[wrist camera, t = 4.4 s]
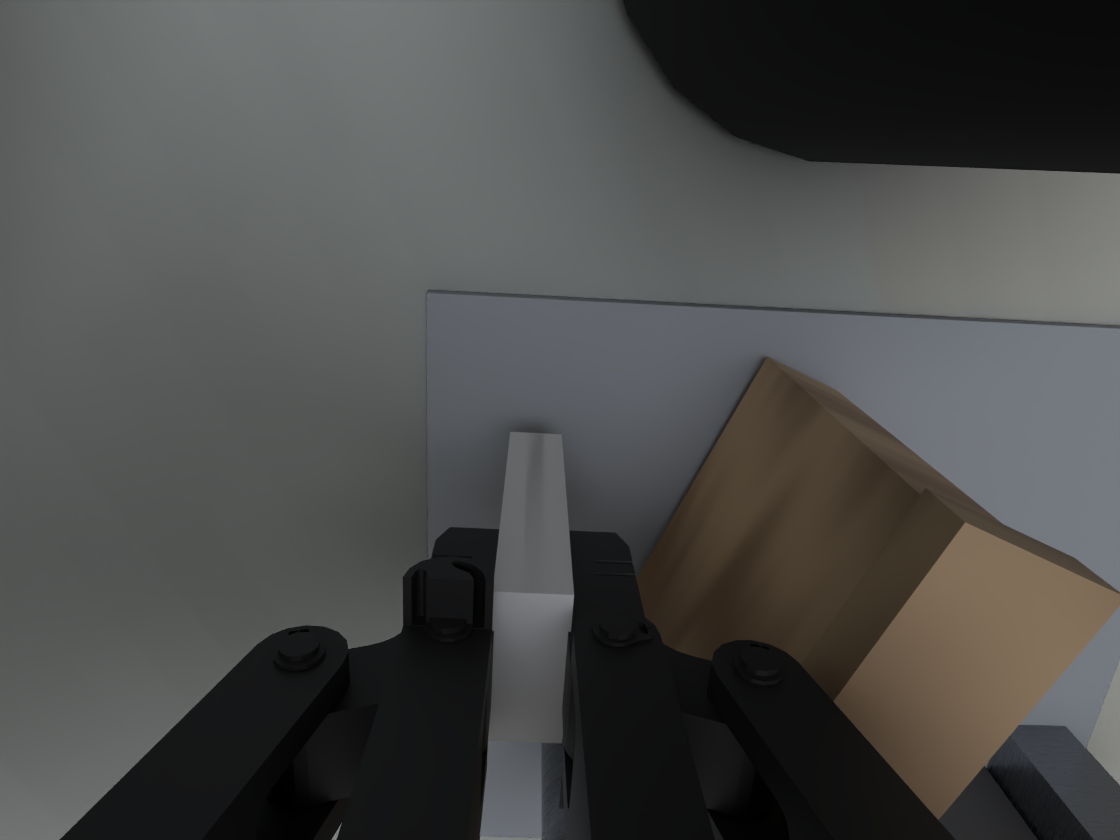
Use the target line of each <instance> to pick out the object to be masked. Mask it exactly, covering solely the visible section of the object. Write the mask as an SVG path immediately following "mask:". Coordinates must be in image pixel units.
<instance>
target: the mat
mask: <svg viewBox="0 0 1120 840" xmlns="http://www.w3.org/2000/svg"><path fill="white" fill-rule="evenodd" d="M426 304H427V548H428V559H431V557H432V552H433V548H434V544H435V540H436V539H437V538H438V537H439V536H440V535H442V534H443V533H444V532H445V531H446V530H447V529H448V528H450V527H462V528H484V529H500V520H501V511H502V502H503V493H504V484H505V475H506V466H507V456H508V447H509V438H510V432H527V433H545V434H562V444H563V457H564V470H565V483H566V496H567V509H568V522H569V530H570V531H593V532H615V533H616V534H617V535H618V536H619V537H620V538H621V539H622V540H623V541H624V542H625V543H626V544H627V545H628V546H629V548H630V552H631V557H632V561H633V562H632V564H633V566H634V570H635V577H636V578H637V577H638V575H639V573H640V572H641V570H642V568H643V567H644V565H645V563H646V561H647V560H648V558H649V556H650V555H651V553H652V551H653V550H654V548H655V546H656V544H657V543H658V541H659V539H660V538H661V536H662V534H663V533H664V531H665V529H666V528H667V526H668V524H669V522H670V521H671V519H672V517H673V516H674V514H675V512H676V511H677V509H678V507H679V505H680V504H681V502H682V500H683V499H684V497H685V495H686V494H687V492H688V490H689V489H690V487H691V485H692V483H693V482H694V480H695V478H696V477H697V475H698V473H699V472H700V470H701V468H702V466H703V465H704V463H705V461H706V460H707V458H708V456H709V455H710V453H711V451H712V450H713V448H714V446H715V444H716V443H717V441H718V439H719V438H720V436H721V434H722V433H723V431H724V429H725V428H726V426H727V424H728V422H729V421H730V419H731V417H732V416H733V414H734V412H735V411H736V409H737V407H738V405H739V404H740V402H741V400H742V399H743V397H744V395H745V394H746V392H747V390H748V389H749V387H750V385H751V383H752V382H753V380H754V378H755V377H756V375H757V373H758V372H759V370H760V368H761V366H762V365H763V363H764V361H765V360H766V358H767V357H769V358H772V359H774V360H776V361H778V362H780V363H782V364H784V365H786V366H788V367H790V368H792V369H794V370H796V371H798V372H800V373H802V374H804V375H807V376H809V377H811V378H813V379H815V380H817V381H819V382H821V383H823V384H825V385H827V386H829V387H831V388H833V389H835V390H837V391H839V392H840V393H841V394H842V395H844V396H845V397H846V398H847V399H849V400H850V401H851V402H852V403H854V404H855V405H856V406H857V407H858V408H860V409H861V410H862V411H863V412H865V413H866V414H867V415H868V416H870V417H871V418H872V419H873V420H875V421H876V422H877V423H878V424H880V425H881V426H882V427H883V428H885V429H886V430H887V431H888V432H889V433H891V434H892V435H893V436H894V437H896V438H897V439H898V440H899V441H901V442H902V443H903V444H904V445H906V446H907V447H908V448H909V449H911V450H912V451H913V452H914V453H916V454H917V455H918V456H919V457H920V458H922V459H923V460H924V461H925V462H927V463H928V464H929V465H930V466H932V467H933V468H934V469H935V470H937V471H938V472H939V473H940V474H942V475H943V476H944V477H945V478H947V479H948V480H949V481H950V482H952V483H953V484H954V485H955V486H956V487H958V488H959V489H960V490H961V491H963V492H964V493H965V494H966V495H968V496H969V497H970V498H971V499H973V500H974V501H975V502H976V503H978V504H979V505H980V506H981V507H983V508H984V509H985V510H986V511H987V512H989V513H990V514H991V515H992V516H994V517H995V518H996V519H997V520H999V521H1000V522H1001V523H1002V524H1004V525H1006V526H1008V527H1010V528H1012V529H1014V530H1017V531H1019V532H1021V533H1023V534H1025V535H1027V536H1029V537H1031V538H1034V539H1036V540H1038V541H1040V542H1042V543H1044V544H1046V545H1048V546H1051V547H1053V548H1055V549H1057V550H1059V551H1061V552H1063V553H1065V554H1068V555H1070V556H1072V557H1074V558H1076V559H1077V560H1078V561H1079V562H1081V563H1082V564H1083V565H1085V566H1086V567H1087V568H1089V569H1090V570H1091V571H1093V572H1094V573H1095V574H1097V575H1098V576H1099V577H1100V578H1102V579H1103V580H1104V581H1106V582H1107V583H1108V584H1110V585H1111V586H1112V587H1114V588H1115V589H1116V590H1118V591H1119V592H1120V326H1115V325H1095V324H1076V323H1057V322H1038V321H1018V320H999V319H980V318H961V317H941V316H922V315H903V314H884V313H864V312H845V311H826V310H807V309H787V308H768V307H749V306H730V305H711V304H691V303H672V302H653V301H634V300H614V299H595V298H576V297H557V296H537V295H518V294H499V293H480V292H460V291H441V290H428V292H427V293H426ZM1119 660H1120V606H1119V607H1118V609H1117V610H1116V611H1115V612H1114V613H1113V615H1112V616H1111V617H1110V618H1109V619H1108V620H1107V622H1106V623H1105V624H1104V625H1103V626H1102V628H1101V629H1100V630H1099V631H1098V632H1097V633H1096V635H1095V636H1094V637H1093V638H1092V639H1091V641H1090V642H1089V643H1088V644H1087V645H1086V646H1085V648H1084V649H1083V650H1082V651H1081V652H1080V653H1079V655H1078V656H1077V657H1076V658H1075V659H1074V661H1073V662H1072V663H1071V664H1070V665H1069V666H1068V668H1067V669H1066V670H1065V671H1064V672H1063V674H1062V675H1061V676H1060V677H1059V678H1058V679H1057V681H1056V682H1055V683H1054V684H1053V685H1052V687H1051V688H1050V689H1049V690H1048V691H1047V692H1046V694H1045V695H1044V696H1043V697H1042V698H1041V700H1040V701H1039V702H1038V703H1037V704H1036V705H1035V707H1034V708H1033V709H1032V710H1031V711H1030V712H1029V714H1028V715H1027V716H1026V717H1025V718H1024V720H1023V721H1022V722H1021V723H1020V724H1019V725H1050V726H1066V727H1067V728H1068V729H1069V730H1070V732H1071V733H1072V734H1073V735H1074V736H1075V737H1076V738H1077V739H1078V740H1079V741H1080V742H1081V744H1082V745H1083V746H1084V747H1085V748H1086V747H1087V744H1088V742H1089V739H1090V736H1091V734H1092V731H1093V728H1094V726H1095V723H1096V721H1097V718H1098V715H1099V713H1100V710H1101V707H1102V705H1103V702H1104V699H1105V697H1106V694H1107V691H1108V689H1109V686H1110V683H1111V681H1112V678H1113V676H1114V673H1115V670H1116V668H1117V665H1118V662H1119ZM988 763H989V761H988V762H987V763H986V764H985V767H986V769H987V766H988ZM480 836H493V837H542V798H541V743H535V742H510V741H488V754H487V772H486V782H485V792H484V801H483V811H482V821H481V830H480Z"/></svg>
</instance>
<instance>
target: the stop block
mask: <svg viewBox="0 0 1120 840" xmlns="http://www.w3.org/2000/svg"><path fill="white" fill-rule="evenodd" d="M939 821H940V823H941V824H942V825H943V826H944V827H945V828H946V829H947V830H948V832H949V833H950V834H951V835H952V836H953V837H954V838H955V839H956V840H1038V839H1037V838H1036V836H1035V835H1034V834H1033V832H1032V831H1031V830H1030V828H1029V827H1028V825H1027V824H1026V823H1025V821H1024V820H1023V818H1022V817H1021V816H1020V814H1019V813H1018V812H1017V810H1016V809H1015V807H1014V806H1013V805H1012V803H1011V802H1010V801H1009V799H1008V798H1007V796H1006V795H1005V794H1004V792H1003V791H1002V789H1001V788H1000V787H999V785H998V784H997V783H996V781H995V780H994V778H993V777H992V776H991V774H990V773H989V771H988V770H987V769H986V767H985V766H984V767H983V768H982V769H981V770H980V771H979V773H978V774H977V775H976V776H975V777H974V779H973V780H972V781H971V782H970V783H969V784H968V786H967V787H966V788H965V789H964V790H963V792H962V793H961V794H960V795H959V796H958V797H957V799H956V800H955V801H954V802H953V803H952V805H951V806H950V807H949V808H948V809H947V810H946V812H945V813H944V814H943V815H942V816H941V818H940V819H939Z"/></svg>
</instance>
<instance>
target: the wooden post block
mask: <svg viewBox="0 0 1120 840" xmlns="http://www.w3.org/2000/svg"><path fill="white" fill-rule="evenodd" d="M636 579H637V583H638V588H639V592H640V597H641V601H642V606H643V610H644V614H645V618H647V619H648V620H649V621H650V622H652V623H653V624H654V625H655V626H656V628H657V630H658V631H659V633H660V635H661V639H662V642H663V644H665V645H666V646H668V647H670V648H672V649H674V650H676V651H679V652H682V653H685V654H688V655H691V656H695V657H699V658H703V659H707V660H711V661H712V658H713V653H714V651H715V650H716V649H718V648H719V647H720V646H721V645H722V644H725V643H728V642H731V641H735V640H754V641H759V642H763V643H767V644H770V645H772V646H775V647H777V648H779V649H781V650H783V651H785V652H787V653H788V654H789V655H790V656H792V657H793V658H794V659H795V660H796V661H798V662H799V663H800V664H801V666H802V667H803V668H804V669H805V670H806V671H807V672H808V674H809V675H810V676H811V677H812V678H813V679H814V680H815V681H816V683H817V684H818V685H819V686H820V687H821V688H822V689H823V690H824V692H825V693H826V694H827V695H828V696H829V697H830V698H831V699H832V701H833V702H834V703H835V704H836V705H837V706H838V707H839V709H840V710H841V711H842V712H843V713H844V714H845V715H846V716H847V718H848V719H849V720H850V721H851V722H852V723H853V724H854V725H855V727H856V728H857V729H858V730H859V731H860V732H861V733H862V734H863V736H864V737H865V738H866V739H867V740H868V741H869V742H870V744H871V745H872V746H873V747H874V748H875V749H876V750H877V751H878V753H879V754H880V755H881V756H882V757H883V758H884V759H885V760H886V762H887V763H888V764H889V765H890V766H891V767H892V768H893V769H894V771H895V772H896V773H897V774H898V775H899V776H900V777H901V778H902V780H903V781H904V782H905V783H906V784H907V785H908V786H909V788H910V789H911V790H912V791H913V792H914V793H915V794H916V795H917V797H918V798H919V799H920V800H921V801H922V802H923V803H924V804H925V806H926V807H927V808H928V809H929V810H930V811H931V812H932V813H933V815H934V816H935V817H936V818H937V819H938V820H939V819H940V818H941V816H942V815H943V814H944V813H945V812H946V810H947V809H948V808H949V807H950V806H951V805H952V803H953V802H954V801H955V800H956V799H957V797H958V796H959V795H960V794H961V793H962V792H963V790H964V789H965V788H966V787H967V786H968V784H969V783H970V782H971V781H972V780H973V779H974V777H975V776H976V775H977V774H978V773H979V771H980V770H981V769H982V768H983V767H984V766H985V764H986V763H987V762H988V761H989V760H990V759H991V757H992V756H993V755H994V754H995V753H996V751H997V750H998V749H999V748H1000V747H1001V746H1002V744H1003V743H1004V742H1005V741H1006V740H1007V738H1008V737H1009V736H1010V735H1011V734H1012V733H1013V731H1014V730H1015V729H1016V728H1017V727H1018V725H1019V724H1020V723H1021V722H1022V721H1023V720H1024V718H1025V717H1026V716H1027V715H1028V714H1029V712H1030V711H1031V710H1032V709H1033V708H1034V707H1035V705H1036V704H1037V703H1038V702H1039V701H1040V700H1041V698H1042V697H1043V696H1044V695H1045V694H1046V692H1047V691H1048V690H1049V689H1050V688H1051V687H1052V685H1053V684H1054V683H1055V682H1056V681H1057V679H1058V678H1059V677H1060V676H1061V675H1062V674H1063V672H1064V671H1065V670H1066V669H1067V668H1068V666H1069V665H1070V664H1071V663H1072V662H1073V661H1074V659H1075V658H1076V657H1077V656H1078V655H1079V653H1080V652H1081V651H1082V650H1083V649H1084V648H1085V646H1086V645H1087V644H1088V643H1089V642H1090V641H1091V639H1092V638H1093V637H1094V636H1095V635H1096V633H1097V632H1098V631H1099V630H1100V629H1101V628H1102V626H1103V625H1104V624H1105V623H1106V622H1107V620H1108V619H1109V618H1110V617H1111V616H1112V615H1113V613H1114V612H1115V611H1116V610H1117V609H1118V607H1119V606H1120V592H1119V591H1118V590H1116V589H1115V588H1114V587H1112V586H1111V585H1110V584H1108V583H1107V582H1106V581H1104V580H1103V579H1102V578H1100V577H1099V576H1098V575H1097V574H1095V573H1094V572H1093V571H1091V570H1090V569H1089V568H1087V567H1086V566H1085V565H1083V564H1082V563H1081V562H1079V561H1078V560H1077V559H1076V558H1074V557H1072V556H1070V555H1068V554H1065V553H1063V552H1061V551H1059V550H1057V549H1055V548H1053V547H1051V546H1048V545H1046V544H1044V543H1042V542H1040V541H1038V540H1036V539H1034V538H1031V537H1029V536H1027V535H1025V534H1023V533H1021V532H1019V531H1017V530H1014V529H1012V528H1010V527H1008V526H1006V525H1004V524H1002V523H1001V522H1000V521H999V520H997V519H996V518H995V517H994V516H992V515H991V514H990V513H989V512H987V511H986V510H985V509H984V508H983V507H981V506H980V505H979V504H978V503H976V502H975V501H974V500H973V499H971V498H970V497H969V496H968V495H966V494H965V493H964V492H963V491H961V490H960V489H959V488H958V487H956V486H955V485H954V484H953V483H952V482H950V481H949V480H948V479H947V478H945V477H944V476H943V475H942V474H940V473H939V472H938V471H937V470H935V469H934V468H933V467H932V466H930V465H929V464H928V463H927V462H925V461H924V460H923V459H922V458H920V457H919V456H918V455H917V454H916V453H914V452H913V451H912V450H911V449H909V448H908V447H907V446H906V445H904V444H903V443H902V442H901V441H899V440H898V439H897V438H896V437H894V436H893V435H892V434H891V433H889V432H888V431H887V430H886V429H885V428H883V427H882V426H881V425H880V424H878V423H877V422H876V421H875V420H873V419H872V418H871V417H870V416H868V415H867V414H866V413H865V412H863V411H862V410H861V409H860V408H858V407H857V406H856V405H855V404H854V403H852V402H851V401H850V400H849V399H847V398H846V397H845V396H844V395H842V394H841V393H840V392H839V391H837V390H835V389H833V388H831V387H829V386H827V385H825V384H823V383H821V382H819V381H817V380H815V379H813V378H811V377H809V376H807V375H804V374H802V373H800V372H798V371H796V370H794V369H792V368H790V367H788V366H786V365H784V364H782V363H780V362H778V361H776V360H774V359H772V358H769V357H767V358H766V360H765V361H764V363H763V365H762V366H761V368H760V370H759V372H758V373H757V375H756V377H755V378H754V380H753V382H752V383H751V385H750V387H749V389H748V390H747V392H746V394H745V395H744V397H743V399H742V400H741V402H740V404H739V405H738V407H737V409H736V411H735V412H734V414H733V416H732V417H731V419H730V421H729V422H728V424H727V426H726V428H725V429H724V431H723V433H722V434H721V436H720V438H719V439H718V441H717V443H716V444H715V446H714V448H713V450H712V451H711V453H710V455H709V456H708V458H707V460H706V461H705V463H704V465H703V466H702V468H701V470H700V472H699V473H698V475H697V477H696V478H695V480H694V482H693V483H692V485H691V487H690V489H689V490H688V492H687V494H686V495H685V497H684V499H683V500H682V502H681V504H680V505H679V507H678V509H677V511H676V512H675V514H674V516H673V517H672V519H671V521H670V522H669V524H668V526H667V528H666V529H665V531H664V533H663V534H662V536H661V538H660V539H659V541H658V543H657V544H656V546H655V548H654V550H653V551H652V553H651V555H650V556H649V558H648V560H647V561H646V563H645V565H644V567H643V568H642V570H641V572H640V573H639V575H638V577H637V578H636Z"/></svg>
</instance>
